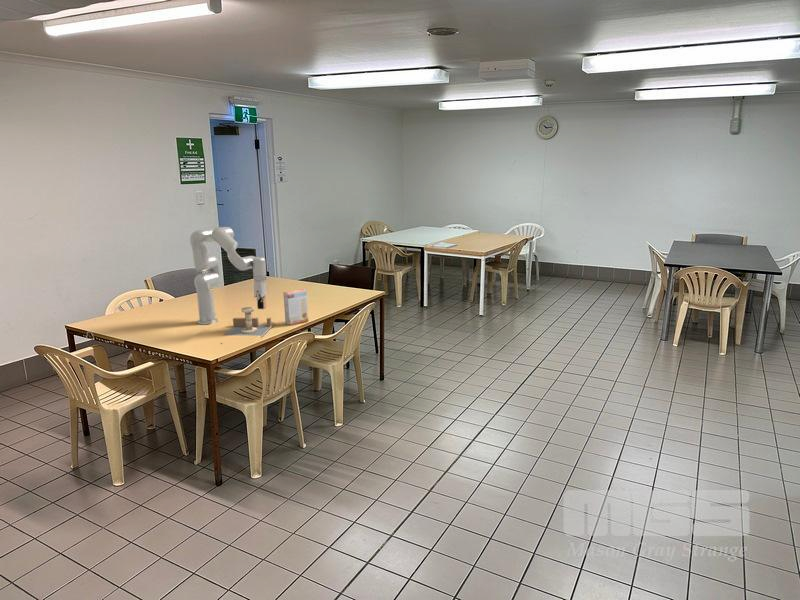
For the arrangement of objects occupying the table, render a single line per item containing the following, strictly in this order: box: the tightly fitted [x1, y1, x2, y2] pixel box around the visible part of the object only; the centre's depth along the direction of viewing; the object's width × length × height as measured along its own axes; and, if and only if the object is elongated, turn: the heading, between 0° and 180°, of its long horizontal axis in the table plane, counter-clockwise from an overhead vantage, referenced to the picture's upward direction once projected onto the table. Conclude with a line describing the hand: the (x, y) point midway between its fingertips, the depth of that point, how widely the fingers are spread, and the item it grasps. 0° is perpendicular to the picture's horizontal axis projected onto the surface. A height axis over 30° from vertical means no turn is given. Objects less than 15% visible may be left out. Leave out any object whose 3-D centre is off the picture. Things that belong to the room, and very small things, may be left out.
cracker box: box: [282, 288, 309, 326], centre depth 342 cm, size 14×6×21 cm, turn 131°
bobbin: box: [241, 306, 257, 334], centre depth 321 cm, size 9×9×14 cm
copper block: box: [256, 296, 267, 310], centre depth 328 cm, size 4×4×7 cm
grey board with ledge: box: [223, 317, 273, 339], centre depth 324 cm, size 20×23×6 cm
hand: (261, 307), depth 328 cm, fingers closed on copper block, 4 cm apart
